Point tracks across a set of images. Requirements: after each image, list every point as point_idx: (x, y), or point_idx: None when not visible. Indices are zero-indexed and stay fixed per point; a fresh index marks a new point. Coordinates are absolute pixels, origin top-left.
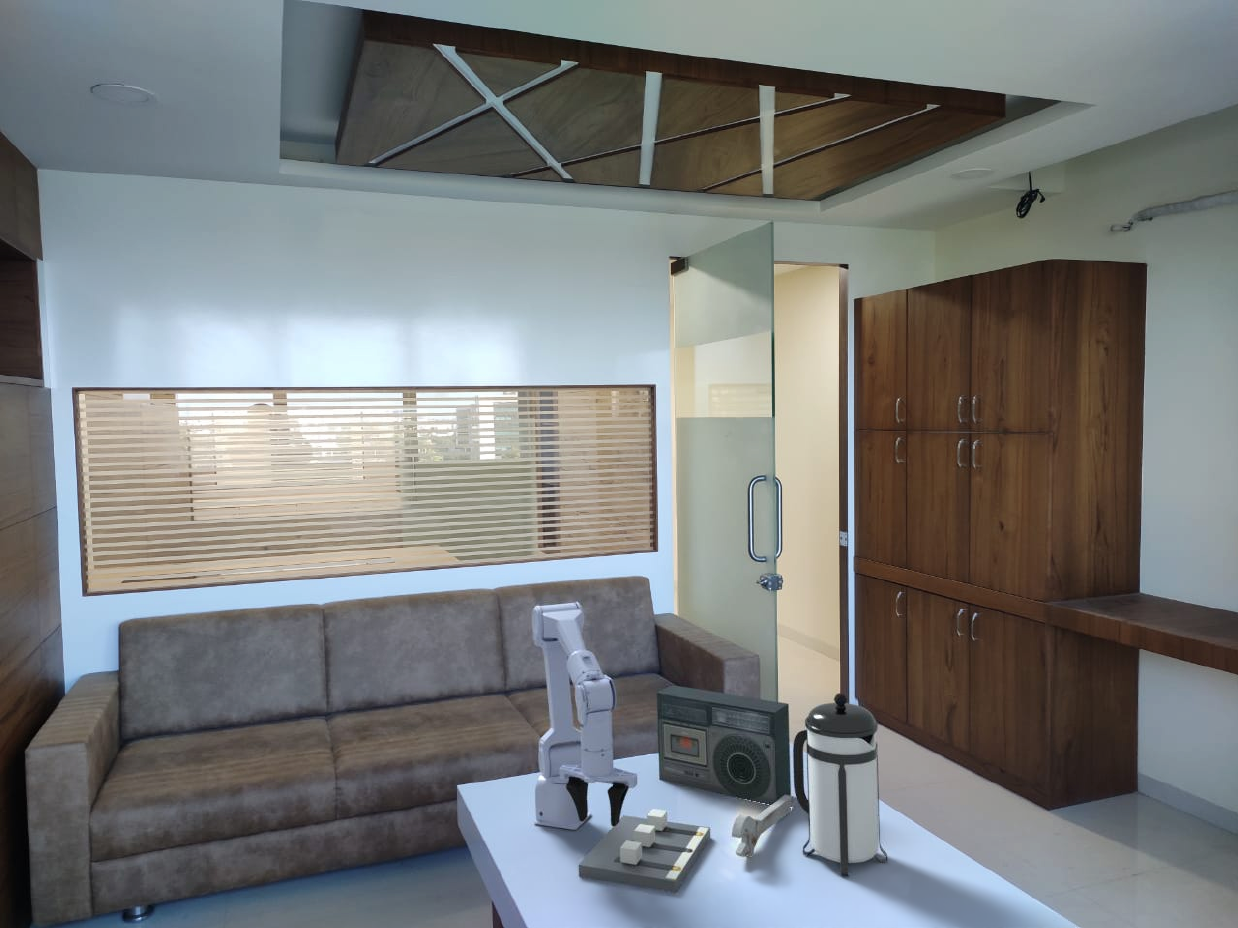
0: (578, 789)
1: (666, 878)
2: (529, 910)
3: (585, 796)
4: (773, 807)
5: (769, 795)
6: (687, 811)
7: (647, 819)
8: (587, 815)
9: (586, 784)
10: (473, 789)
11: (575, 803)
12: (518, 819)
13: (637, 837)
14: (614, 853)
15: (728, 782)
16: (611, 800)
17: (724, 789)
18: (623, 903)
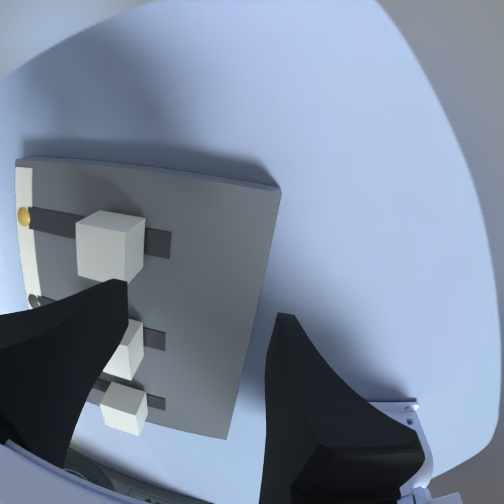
0: (304, 446)
1: (30, 166)
2: (365, 4)
3: (271, 430)
4: None
5: None
6: (134, 447)
7: (138, 407)
8: (266, 358)
9: (264, 493)
10: (483, 444)
11: (325, 367)
12: (442, 406)
13: (126, 332)
14: (185, 279)
15: (98, 479)
16: (30, 330)
17: (107, 474)
18: (122, 71)
